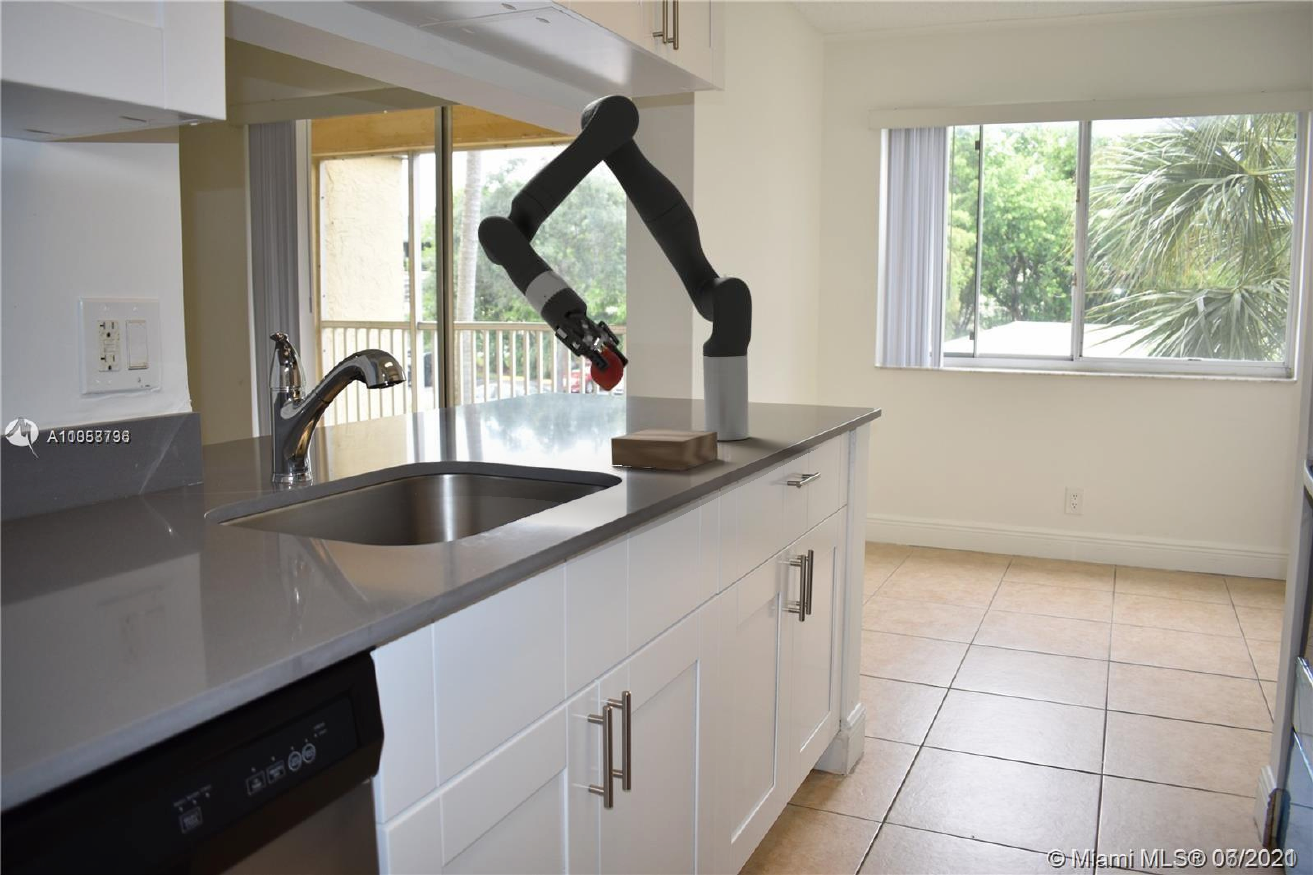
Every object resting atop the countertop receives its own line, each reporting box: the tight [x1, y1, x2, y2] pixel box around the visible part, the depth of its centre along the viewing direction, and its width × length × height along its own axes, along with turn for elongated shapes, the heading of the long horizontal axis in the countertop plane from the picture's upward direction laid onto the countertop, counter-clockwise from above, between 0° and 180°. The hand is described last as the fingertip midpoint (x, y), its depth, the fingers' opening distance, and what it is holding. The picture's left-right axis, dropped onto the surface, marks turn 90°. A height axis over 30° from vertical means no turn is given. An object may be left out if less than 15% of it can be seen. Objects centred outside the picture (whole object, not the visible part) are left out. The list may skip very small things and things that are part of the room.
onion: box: [589, 345, 625, 392], centre depth 177 cm, size 6×6×8 cm
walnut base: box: [610, 428, 719, 472], centre depth 179 cm, size 14×14×5 cm
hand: (615, 367), depth 176 cm, fingers closed on onion, 5 cm apart
